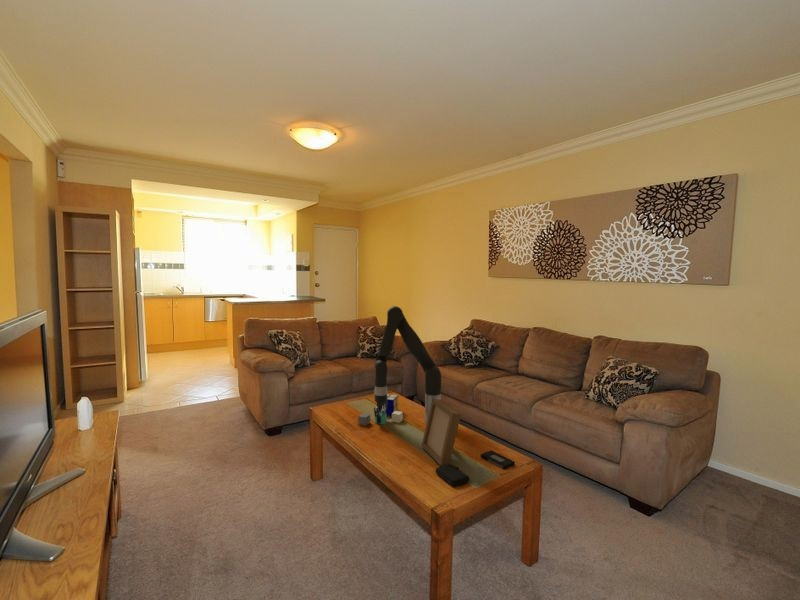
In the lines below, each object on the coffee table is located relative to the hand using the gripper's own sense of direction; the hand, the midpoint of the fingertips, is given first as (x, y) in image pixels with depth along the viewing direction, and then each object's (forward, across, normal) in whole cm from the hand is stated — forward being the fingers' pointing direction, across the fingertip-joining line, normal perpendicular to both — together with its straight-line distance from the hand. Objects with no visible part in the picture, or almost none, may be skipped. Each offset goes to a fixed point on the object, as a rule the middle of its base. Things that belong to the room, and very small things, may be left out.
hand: (380, 421), depth 235 cm
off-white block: (+1, +6, -8) cm, 10 cm away
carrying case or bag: (+1, -43, -57) cm, 71 cm away
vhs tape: (+1, -21, -72) cm, 75 cm away
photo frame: (+1, -25, -47) cm, 53 cm away
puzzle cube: (+1, +17, +3) cm, 17 cm away
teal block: (+1, 0, 0) cm, 1 cm away
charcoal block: (+1, -6, +8) cm, 10 cm away
